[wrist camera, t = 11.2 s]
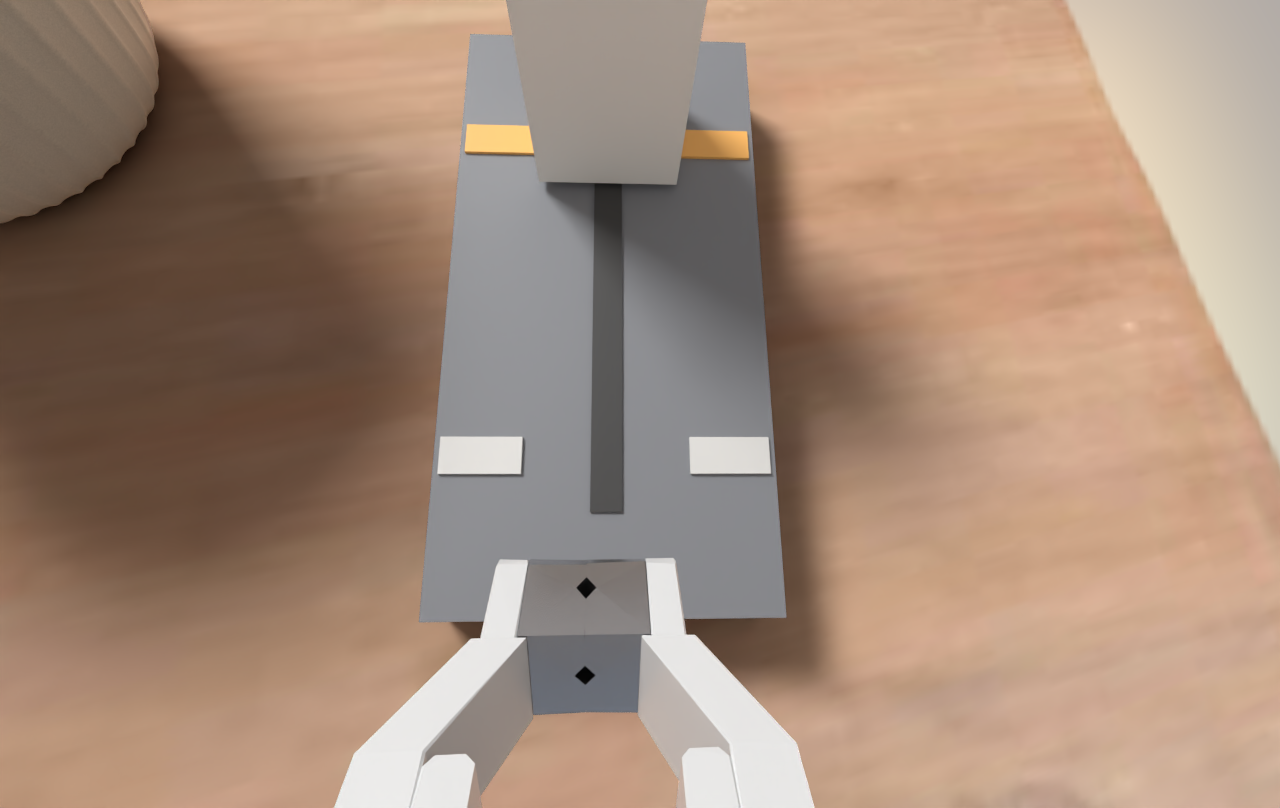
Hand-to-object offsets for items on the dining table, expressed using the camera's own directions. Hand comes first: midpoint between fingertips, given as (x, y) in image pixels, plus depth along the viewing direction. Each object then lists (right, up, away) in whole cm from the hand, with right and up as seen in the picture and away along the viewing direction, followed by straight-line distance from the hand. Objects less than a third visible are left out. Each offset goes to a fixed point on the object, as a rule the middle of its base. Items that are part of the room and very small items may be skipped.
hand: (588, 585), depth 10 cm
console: (0, +6, +14) cm, 15 cm away
